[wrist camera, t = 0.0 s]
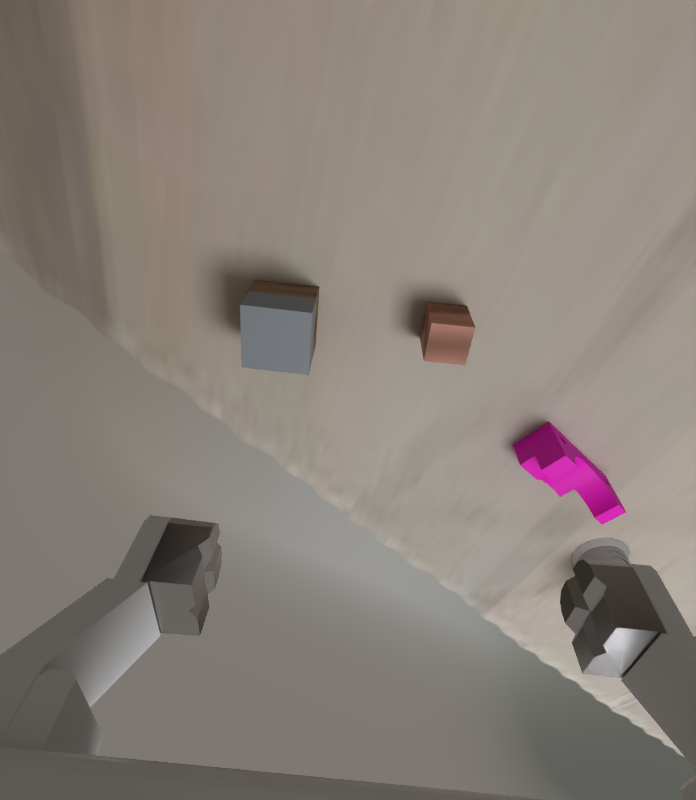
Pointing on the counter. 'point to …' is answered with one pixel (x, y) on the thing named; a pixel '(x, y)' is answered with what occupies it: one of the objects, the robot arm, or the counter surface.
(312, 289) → the tower base
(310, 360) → the tower middle
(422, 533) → the counter surface
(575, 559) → the french press
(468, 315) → the reddish brown cube
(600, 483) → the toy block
